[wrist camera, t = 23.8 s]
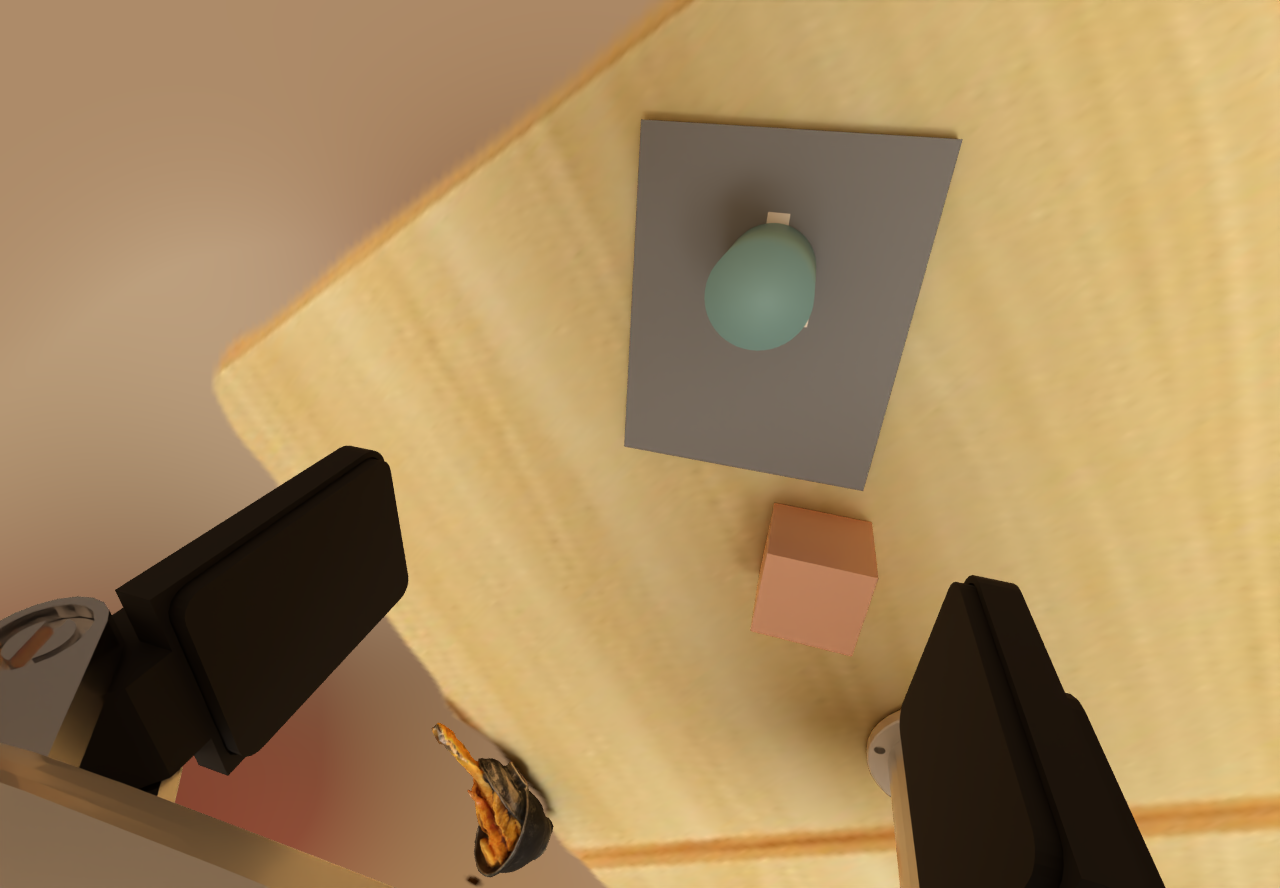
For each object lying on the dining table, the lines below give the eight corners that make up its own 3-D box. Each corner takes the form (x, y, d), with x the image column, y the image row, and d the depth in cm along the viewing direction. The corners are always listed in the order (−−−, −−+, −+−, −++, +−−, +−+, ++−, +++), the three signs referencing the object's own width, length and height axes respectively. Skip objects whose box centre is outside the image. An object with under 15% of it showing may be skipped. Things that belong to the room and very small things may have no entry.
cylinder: (824, 227, 31) (824, 247, 25) (807, 319, 34) (802, 357, 28) (731, 218, 32) (710, 236, 26) (720, 308, 35) (699, 342, 29)
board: (958, 139, 29) (962, 139, 28) (862, 483, 38) (863, 491, 38) (645, 119, 32) (641, 119, 31) (628, 440, 42) (624, 446, 41)
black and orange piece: (505, 873, 66) (359, 829, 58) (545, 766, 72) (417, 714, 64) (548, 903, 59) (389, 859, 51) (588, 783, 65) (450, 726, 57)
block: (871, 521, 40) (878, 578, 34) (848, 594, 43) (851, 656, 38) (774, 501, 41) (767, 553, 36) (759, 573, 44) (750, 630, 39)
